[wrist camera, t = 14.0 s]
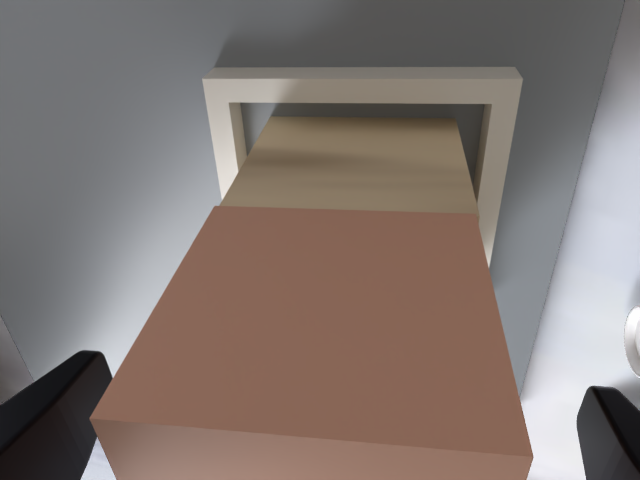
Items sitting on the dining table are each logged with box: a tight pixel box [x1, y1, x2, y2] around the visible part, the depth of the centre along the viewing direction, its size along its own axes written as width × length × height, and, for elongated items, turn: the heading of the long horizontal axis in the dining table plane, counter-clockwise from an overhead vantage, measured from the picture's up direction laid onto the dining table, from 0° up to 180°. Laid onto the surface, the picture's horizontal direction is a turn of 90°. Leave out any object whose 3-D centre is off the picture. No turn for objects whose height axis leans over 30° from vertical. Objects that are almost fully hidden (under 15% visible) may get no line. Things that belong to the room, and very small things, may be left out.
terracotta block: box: [89, 206, 533, 480], centre depth 9 cm, size 5×5×5 cm
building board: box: [0, 0, 625, 398], centre depth 16 cm, size 20×20×2 cm
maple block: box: [219, 116, 480, 224], centre depth 13 cm, size 5×5×5 cm
